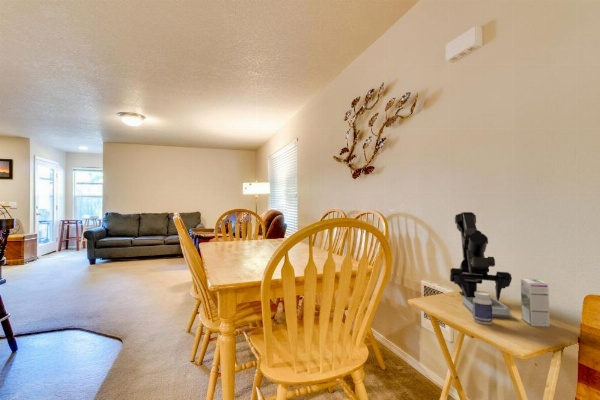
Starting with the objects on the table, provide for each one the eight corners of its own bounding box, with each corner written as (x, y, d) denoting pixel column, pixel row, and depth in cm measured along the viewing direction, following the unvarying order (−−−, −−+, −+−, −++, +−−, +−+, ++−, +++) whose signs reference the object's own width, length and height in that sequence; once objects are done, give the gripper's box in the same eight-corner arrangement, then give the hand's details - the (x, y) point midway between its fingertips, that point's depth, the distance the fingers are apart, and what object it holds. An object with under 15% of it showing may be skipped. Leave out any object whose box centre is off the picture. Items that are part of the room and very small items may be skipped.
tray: (462, 304, 115) (462, 295, 115) (493, 306, 113) (493, 297, 113) (474, 315, 104) (474, 306, 104) (509, 318, 101) (509, 308, 101)
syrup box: (550, 327, 94) (549, 283, 94) (530, 326, 95) (529, 282, 95) (539, 320, 99) (539, 278, 99) (520, 319, 100) (520, 278, 101)
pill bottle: (496, 325, 96) (496, 295, 96) (479, 325, 96) (479, 295, 96) (485, 318, 101) (485, 290, 101) (469, 318, 101) (469, 290, 101)
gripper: (450, 246, 107) (453, 283, 97) (509, 249, 100) (520, 289, 89) (448, 263, 114) (451, 299, 104) (504, 267, 107) (513, 306, 97)
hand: (482, 298), depth 98 cm, fingers open, 9 cm apart
